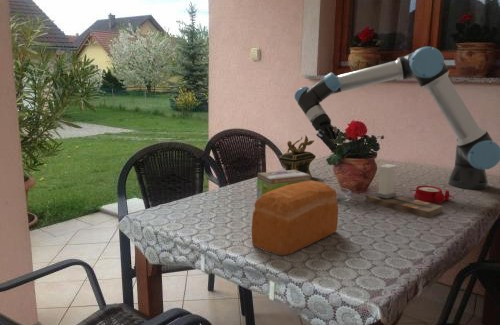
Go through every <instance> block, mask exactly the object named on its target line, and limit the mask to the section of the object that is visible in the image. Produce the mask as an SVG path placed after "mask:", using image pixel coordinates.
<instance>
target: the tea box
mask: <svg viewBox="0 0 500 325" xmlns="http://www.w3.org/2000/svg"><path fill="white" fill-rule="evenodd" d="M311 175H312V174H311ZM311 175H309V174H306V173H303V172H300V171H297V170H285V169H284V170H278V171H266V172H257V178H256V200H257V199H258V198H260V197H261V196H262V195H263V194H265V193H267V192H270V191H272V190H275V189H278V188H280V187H283V186H287V185H290V184H295V183H300V182H305V181H311V178H312V176H311Z"/></svg>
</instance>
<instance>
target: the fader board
mask: <svg viewBox="0 0 500 325" xmlns="http://www.w3.org/2000/svg"><path fill="white" fill-rule="evenodd" d="M365 202H367V203H370V204H373V205H378V206H381V207H385V208H389V209H393V210H398V211H400V212H405V213H408V214H413V215H417V216H419V217H420V216H421V217H424V218H431V217H433V216H436V215H438V214H440V213H442V212H443V208H444V207H443V205H439V204H437V203H436V204H435V203H432V202H428V201H422V200H418V199H415V198H414V199H413V198H409V197H404V196H399V195H396V196H394V197H391V198H388V199H387V198H383V197H379V196H375V193H374V194H370V195H367V196H366V198H365Z"/></svg>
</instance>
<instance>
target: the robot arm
mask: <svg viewBox="0 0 500 325" xmlns="http://www.w3.org/2000/svg"><path fill="white" fill-rule="evenodd" d="M449 73H450V69H449V68H448V65H447V64H446V63H445V57H444V56H443V53H442V52H441V51H440V50H439V49H437V48H436V47H433V46H421V47H420V48H417V49H416V50H414V51H413V52H411V53H409V54H406V55H404V56H399V57H397V59H396V60H393V61H389V62H385V63H381V64H377V65H374V66H370V67H365V68H362V69H357V70H354V71H350V72H345V73H342V74H338V75H335V73H334V72H331V71H330V72H329V73H327V74H325V75H324V76H323V77H322V78H321V79H320V80H318V81H317V82H316V83H315V84H313V86H311V87H308V86H302V87H301V88H299V89H297V90H296V91H295V93H294V99H295V101H296V102H297V105H298V106H299V108H300V109H301V110H302V112H303V113H304V115H305V117H306V118H307V120H309V122H310V123H311V125H312V127H313V128H314V130H315V131H318V132H317V133H316V137H317V138H318V139H320V140H321V141H322V142H323V143H324V144H325V146H326V147H327V148H328V149H329V150H330V151H331V152H332V153H334V152H335V151H334V150H335V149H336V146H337V144H334V143H333V142H332V141H331V140H330V139H334V140H335V139H336V138H337V136H338V133H339V132H340V133H341V129H339V128H336V130H337V131H333V128H334V129H335V127H334V126H333V125H332V120H331V118H330V117H329V115H328V114H327V112H326V111H325V110H324V108H323V106H322V105H321V104H320V103H322V102H323V101H324V100H325V99H327V98H328V97H329V96H331V95H334V94H339V93H342V92H346V91H350V90H355V89H359V88H363V87H367V86H371V85H377V84H380V83H384V82H388V81H392V80H397V79H400V80H408V79H413V78H414V79H415V80H416V81H417V83H418V84H419V86H420V87H421V88H423V89H427V91H428V92H429V94H430V96H431V97H432V99H433V101H434V102H435V104H436V105H437V108H438V109H439V110H440V112H441V113H442V115H443V116H444V118H445V120H446V122H447V123H448V125H449V126H450V128H451V130H452V132H454V135H455V136H456V138H457V139H456V147H455V148H456V149H455V157H454V158H455V159H454V166H453V169H452V171H451V173H450V175H449V177H448V185H451V186H452V187H457V188H460V189H461V188H462V189H466V190H467V189H468V190H469V189H470V190H484V189H487V188H488V184H489V181H488V177H487V172H486V170H489V169H492V168H494V167H495V166H497V165H498V164H499V162H500V145H499V144H498V143H497V142H496V141H494V140H493V139H492V137H491V135H490V134H489V132H488V131H487V129H485V128H481V127H480V126H479V125H478V123H477V121H476V119H475V118H474V116H473V115H472V113H471V112H470V110H469V108H468V107H467V105H466V103H465V102H464V100H463V98H462V97H461V95H460V93H459V92H458V91H457V89H456V87H455V86H454V84H453V82H452V81H451V79H450V78H449ZM333 151H334V152H333Z"/></svg>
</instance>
